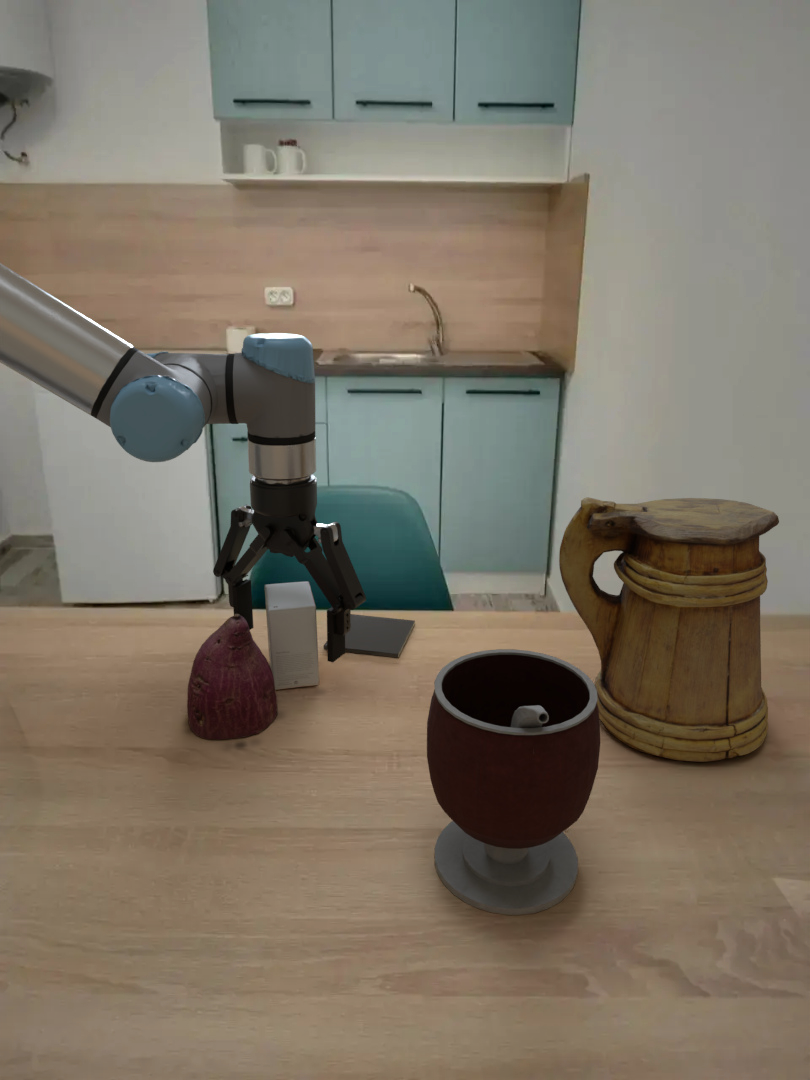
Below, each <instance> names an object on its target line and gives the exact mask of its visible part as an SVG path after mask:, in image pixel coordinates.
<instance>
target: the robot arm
mask: <svg viewBox="0 0 810 1080" xmlns="http://www.w3.org/2000/svg"><path fill="white" fill-rule="evenodd" d="M0 364H3V366H6V367H7V368H9V369H11V370H12V371H14V372H16V373H17V374H19V375H21V376H22V377H24V378H26V379H28V380H29V381H31V382H33V383H34V384H36V385H38V386H40V387H41V388H43V389H44V390H47V391H48V392H50V393H52V394H53V395H55V396H57V397H59V398H60V399H62V400H63V401H65V402H67V403H69V404H71V405H72V406H74V407H75V408H77V409H79V410H81V411H82V412H84V413H86V414H87V415H89V416H91V417H92V418H95V420H97V421H100V422H101V423H102V424H104V425H106V426H108V428H110V430H111V432H112V433H111V434H112V435H113V437H114V439H115V440H116V442H117V443H118V445H119V446H120V447H121V449H123V450H124V451H125V452H126V453H127V454H128V455H130V456H131V457H134V458H135V459H137V460H140V461H143V462H146V463H147V462H148V463H165V462H168V461H171V460H174V459H176V458H178V457H179V456H181V455H182V454H183V453H185V452H186V451H188V450H189V449H190V448H191V447H192V446H193V445H194V444H196V443H197V442H198V440H199V439H200V437H201V435H202V434H203V431H204V428H205V427H206V425H227V424H228V425H239V424H245V425H246V429H247V432H246V434H247V457H248V459H247V461H248V462H247V463H248V472H249V474H250V475H251V478H250V479H249V492H250V493H249V494H250V495H249V496H250V497H249V498H250V504H244V505H242V506H238V507H236V508H234V509H231V511H230V526H229V529H228V532H227V534H226V536H225V539H224V541H223V544H222V547H221V549H220V552H219V554H218V557H217V559H216V562H215V565H214V567H213V570H212V572H213V575H214V576H215V577H216V578H220V577H221V578H222V579H224V580H225V581H224V582H225V583H226V584H227V589H228V603H229V606H230V608H233V616H234V615H235V614H239V615H240V616H242V617H243V618H244V619H245V620H246V621H247V623H248V626H249V629H250V631H251V630H253V629H254V615H253V614H254V611H253V592H252V591H253V590H252V580H251V579H247V578H246V577H249V572H251V570H252V569H253V568H254V567H255V566H256V564H257V563H258V562H259V560H260V559H262V557H263V556H264V555H265V553H266V552H267V551H268V550H269V553H272V554H281V555H284V556H286V557H290V558H295V559H296V561H297V562H298V563H299V564H300V565H303V566H304V567H305V569H306V570H307V571H308V573H309V575H310V576H311V578H312V579H313V580H314V582H315V584H316V585H317V587H318V588H319V590H320V591H321V593H322V594H323V595H324V597H325V598H326V600H327V601H328V603H329V605H330V606H331V607H330V608H328V609H327V610H326V639H327V640H326V641H327V650H326V652H327V653H326V654H327V662H330V663H334V662H336V661H337V660H338V659H340V658H341V657H343V656H344V655H345V654H346V652H345V634H346V633H348V632H349V631H350V628H351V624H350V623H351V621H350V620H351V614H352V613H351V612H352V611H353V610H355V609H356V608H358V607H360V605H361V606H362V604H364V603H365V602H366V600H367V596H366V593H365V591H364V589H363V587H362V585H361V582H360V579H359V577H358V575H357V572H356V570H355V567H354V566H353V563H352V560H351V557H350V556H349V554H348V551H347V549H346V547H345V544H344V541H343V533H342V526H341V524H340V523H339V522H338V521H333V522H331V523H327V524H326V523H318V520H317V517H316V510H317V506H318V479H317V477H316V476H315V473H316V472H317V438H316V374H315V361H314V347H313V344H312V342H311V341H310V339H308V337H306V336H304V335H301V334H296V333H287V332H268V333H254V334H249V335H247V336H245V338H243V341H242V348H241V352H235V353H189V352H188V353H187V352H186V353H185V352H169V351H160V352H155V353H145V352H143V351H142V350H140V349H138V348H137V347H135V346H134V345H133V344H131V343H130V342H128V341H126V340H125V339H123V338H121V337H120V336H118V335H117V334H115V333H114V332H112V331H110V330H109V329H107V328H106V327H104V326H102V325H101V324H100V323H98V322H96V321H94V320H93V319H91V318H90V317H88V316H86V315H85V314H83V313H81V312H80V311H78V310H77V309H75V308H73V307H72V306H70V305H68V304H67V303H66V302H63V300H61V299H59V298H57V297H55V296H54V295H52V294H51V293H49V292H47V291H46V290H44V289H43V288H41V287H39V286H38V285H36V283H35V284H34V282H32V281H30V280H28V279H27V278H25V277H24V276H22V275H20V274H19V273H17V272H15V271H14V270H12V269H10V268H9V267H7V266H6V265H4V264H3V263H1V262H0ZM251 526H253V527H254V529H255V531H256V533H257V535H256V537H255V538H254V539H253V540H252V541H251V542H250V544H249V547H248V548H247V550H246V551H245V552H244V553H243V554H242V556H241V557H240V558H239V556H240V553H241V551H242V548H243V546H244V543H245V542H246V539H247V536H248V535H249V532H250V529H251ZM316 537H318V538H316ZM320 544H321V545H320ZM307 549H309V551H306V550H307ZM245 578H246V579H245Z"/></svg>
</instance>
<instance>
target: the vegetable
mask: <svg viewBox="0 0 810 1080" xmlns="http://www.w3.org/2000/svg"><path fill="white" fill-rule="evenodd" d="M277 697H278V696H277V692H276V690H275V685H274V677H273V673H272V670H271V666H270V662H269V661H268V660H267V657H266V656H265V655H264V653H263V652H262V650H261V648H260V647H259V646H258V644H257V643H256V641H255V640H254V637H253V635H252V633H251V630H250V629H249V626H248V623H247V621H246V620H245V619H244V618H243V617H242V616H240V615H239V614H235V615H234V614H233V615H232V616H229V617H228V618H227V619H226V620H225V621H224V622H223V623H222V625H220V626H219V627H218V628H217V629H216V630H215V631H214V632H213V633H211V634H210V635H209V636H208V637H207V638H206V639H205V640H204V641H203V642H202V644H201V646H200V647H199V649H198V651H197V653H196V654H195V657H194V659H193V663H192V666H191V672H190V675H189V679H188V683H187V699H186V700H187V702H186V708H187V709H186V710H187V720H188V725H189V728H190V731H191V732H192V733H193V734H194V735H196V736H198V737H200V738H202V739H205V740H217V741H218V740H222V741H223V740H230V739H239V738H247V737H250V736H254V735H258V734H260V733H261V732H263V731H264V730H265V729H267V728H268V727H269V726H270V725H271V724H272V722H273V721H274V720H275V719H276V718H277V715H278V700H277V699H278V698H277Z"/></svg>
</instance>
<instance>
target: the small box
mask: <svg viewBox="0 0 810 1080" xmlns="http://www.w3.org/2000/svg"><path fill="white" fill-rule="evenodd" d="M312 591H313V590H312V588H311V584H310V581H293V582H292V581H291V582H282V583H281V582H280V583H270V584H269V583H268V584H264V599H265V615H266V616H265V617H266V629H267V644H268V645H267V646H268V657H269V665H270V668H271V670H272V673H273V677H274V685H275V691H277V690H286V689H295V688H304V687H313V686H319V685H320V669H319V668H320V666H319V664H320V663H319V649H318V648H319V645H318V643H319V642H318V623H317V606H316V602H315V598H314V594H313V592H312Z"/></svg>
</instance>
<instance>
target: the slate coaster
mask: <svg viewBox="0 0 810 1080" xmlns="http://www.w3.org/2000/svg"><path fill="white" fill-rule="evenodd" d="M350 621H351V623H350V624H351V628H350V631H349V632H348V633H346V634H345V653H351V654H352V653H353V654H361V655H368V656H369V655H370V656H380V657H388V658H395V659H396V658H397V659H399V657H400V655H401V653H402V652H403V649H404V647H405V645H406V643H407V641H408V639H409V638H410V636H411V633H412V631H413V629H414V627H415V625H416V620H415V619H414V620H413V619H404V618H394V617H393V618H392V617H384V616H373V615H364V614H356V613H355V614H354V613H351V620H350ZM323 650H324V651H325V650H326V651H327V640H326V641H325V643H324V644H323Z"/></svg>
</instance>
